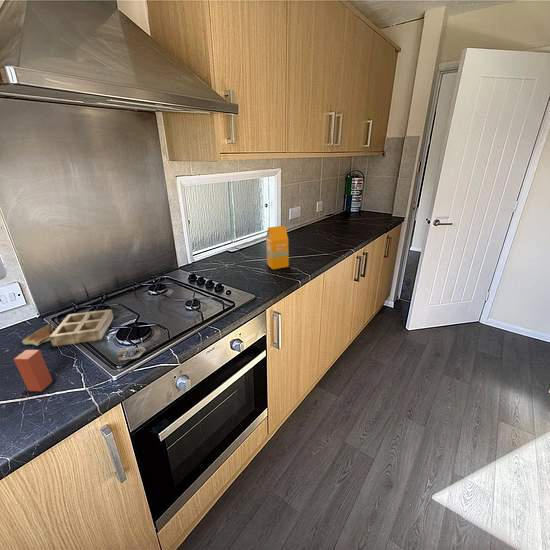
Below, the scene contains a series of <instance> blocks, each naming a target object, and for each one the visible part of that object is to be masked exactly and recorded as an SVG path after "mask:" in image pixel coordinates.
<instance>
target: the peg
mask: <svg viewBox="0 0 550 550" xmlns="http://www.w3.org/2000/svg"><path fill="white" fill-rule="evenodd" d="M13 361H14V363H15V365H16V367H17V370H18V371H19V374H20V376H21V378H22V380H23V382H24V384H25V387H26V388H27V391H28V392H43V391H44V390H46V388H47V387H48V386H50V385H51V384H52V383H53V378H52V376H51V373H50V372H49V371H50V370H49V369H48V367H47V364H46V361H45V360H44V357H43V355H42V352H41V350H40V349H25V350H24V351H22V352H21V353H19V354H18V355H17V356H16V357H14V358H13Z"/></svg>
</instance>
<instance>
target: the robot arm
mask: <svg viewBox="0 0 550 550" xmlns="http://www.w3.org/2000/svg"><path fill="white" fill-rule="evenodd" d="M7 274H8V271H7V267H6V265H5V262H4V260H3V257H2V255H1V254H0V281H1V280H4V279H6V277H7Z"/></svg>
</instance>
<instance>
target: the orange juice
mask: <svg viewBox="0 0 550 550" xmlns="http://www.w3.org/2000/svg"><path fill="white" fill-rule="evenodd" d="M265 243H266V245H265V246H266V247H265V248H266V265H267V266H268V267H269V268H270V269H271V270H278V269H282V268H283V269H284V268H289V267H290V262H289V261H290V260H289V259H290V258H289V256H290V253H289V236H288V232H287V229H286V225H279V226H271V227H268V228H267V232H266V236H265Z"/></svg>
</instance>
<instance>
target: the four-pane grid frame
mask: <svg viewBox="0 0 550 550" xmlns="http://www.w3.org/2000/svg"><path fill="white" fill-rule="evenodd" d="M113 319H114V313H113V311H112V308H110V309H103V310H102V309H101V310H93V311H92V310H91V311H85V312H77V313H69V314H68V313H67V315H66V317H64V319H63V320H62V321H61V322H60V324H59V325H58V326H57V327H56V328H55V330H53V333H52V334H51V336H50V337H49V338H50V340H49V341H50V342H51V345H52V347H59V346H64V345H65V346H66V345H73V344H81V343H88V342H95V341H101V340H103V337H105V334H106V332H107V331H108V329H109V327H110V325H111V323H112V321H113Z"/></svg>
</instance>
